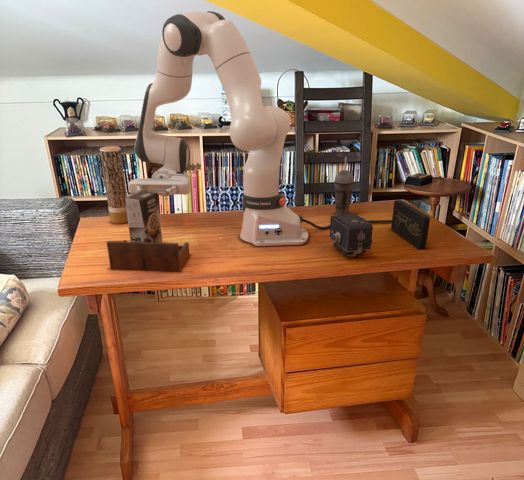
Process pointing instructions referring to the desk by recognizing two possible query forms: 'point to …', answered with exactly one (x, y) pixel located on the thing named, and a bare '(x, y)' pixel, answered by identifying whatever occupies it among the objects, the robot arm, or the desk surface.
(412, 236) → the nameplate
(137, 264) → the dark brown wooden box
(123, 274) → the desk surface
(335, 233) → the camera
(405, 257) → the desk surface
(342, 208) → the beverage cup
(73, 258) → the desk surface
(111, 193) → the wooden log
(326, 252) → the desk surface
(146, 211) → the coffee box
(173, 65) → the robot arm
